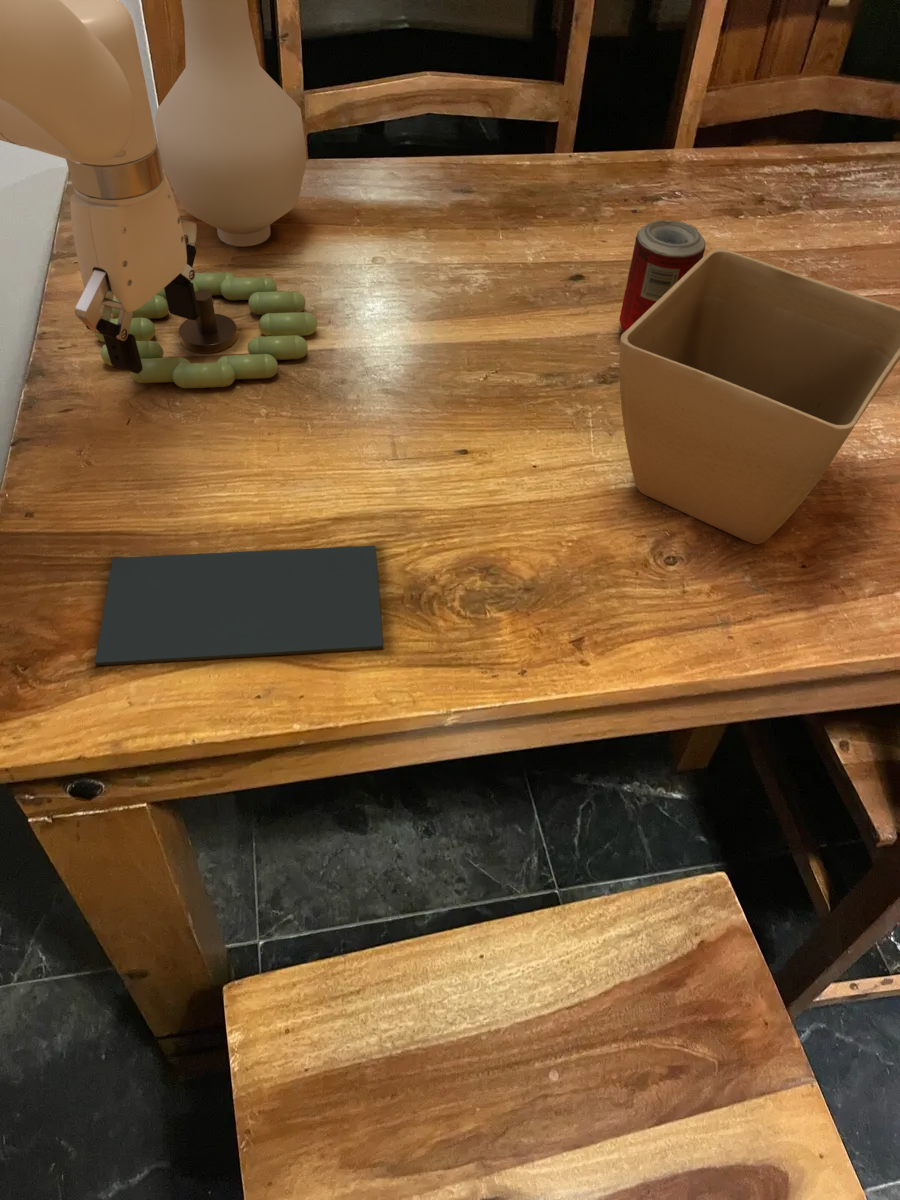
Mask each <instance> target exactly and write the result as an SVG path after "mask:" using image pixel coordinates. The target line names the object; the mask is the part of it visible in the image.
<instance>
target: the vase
mask: <svg viewBox="0 0 900 1200" xmlns="http://www.w3.org/2000/svg"><path fill="white" fill-rule="evenodd" d="M180 1H181V8H182V15H183V22H184V50H185V51H184V53H185V67H184V69H183V71H182V72H181V74H180V75H179V77H178V78H177V79H176V81H175V83H174V84H173V86H172V87H171V88H170V90H169V91H168V92H167V94H166V95H165V97H164V99H163V100H162V101H161V103H160V104H159V106H158V107H157V110H156V114H155V118H154V121H155V132H156V138H157V143H158V148H159V153H160V158H161V163H162V168H163V170H164V172H165V174H166V177H167V179H168V182H169V184H170V186H171V188H172V190H173V191H174V193H175V195H176V198H177V200H178V202H179V204H180V205H181V207H182V208H183V209H184V211H185V212H186V213H187V214H189V215H191V216H193V217H194V218H195V219H198V220H200V221H201V222H203V223H206V224H208V225H210V226H211V227H214V228H216V231H217V232H216V233H217V237H218V238H219V240H220V241H221V242H222V243H225V244H226V245H230V246H233V247H242V248H243V247H253V246H257V245H260V244H263V243H264V242H266V241H267V240H268V239H269V238H270V236H271V225H272V224H274V222H276V221H278V220H279V219H280V218H281V217H283V216H285V215H286V214H288V213H289V212H290V211H292V210H293V208H294V207H295V206H296V205H297V203H298V202H299V199H300V195H301V190H302V185H303V180H304V177H305V176H304V175H305V171H306V167H307V145H306V137H305V131H304V130H305V129H304V124H303V118H302V117H303V116H302V109H301V108H300V106H299V105H298V104H297V103H296V102H295V100H294V99H293V98H292V97H291V96H290V95H289V94H288V93H287V92H286V91H285V90H284V89H283V88H282V87H281V86H280V85H279V84H278V83H277V82H276V81H275V80H274V79H273V78H272V77H271V76H270V75H269V73H267V72H266V70H265V69H264V68H262V66H260V60H259V56H258V52H257V46H256V43H255V39H254V35H253V29H252V26H251V25H252V24H251V20H250V14H249V4H248V0H180Z"/></svg>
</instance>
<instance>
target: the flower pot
mask: <svg viewBox="0 0 900 1200" xmlns="http://www.w3.org/2000/svg"><path fill="white" fill-rule="evenodd" d="M620 335H621V336H620V337H619V338H620V340H619V341H620V342H619V393H620V404H621V406H620V407H621V415H622V423H623V431H624V437H625V443H626V449H627V454H628V458H629V459H628V460H629V465H630V469H631V473H632V477H633V480H634V484H635V485H636V486H635V487H636V489H637V490H638V492H640V494H642V495H645V496H646V497H649V498H651V499H653V500H655V501H657V502H660V503H662V504H664V505H666V506H668V507H671V508H673V509H674V510H677V511H679V512H681V513H683V514H686V515H689V516H691V517H692V518H694V519H697V520H699V521H700V522H704V523H706V524H707V525H710V526H712V527H714V528H716V529H719V530H721V531H722V532H725V533H727V534H730V535H731V536H734V537H736V538H738V539H740V540H742V541H745V542H747V543H750V544H753V545H760V544H763V543H765V542H767V541H768V540H769V539H770V537H772V536H773V535H774V534H775V533H776V532H777V531H779V529H780V528H781V527H782V526H783V525H784V524H785V523H786V522H787V520H789V518H791V516H792V515H793V514H794V513H795V511H796V510H797V509H798V508H799V507H800V505H801V504H802V503H803V502H804V501H805V499H806V498H807V497H808V496H809V494H810V493H811V491H812V490H813V488H814V487H815V486H816V485H817V483H818V482H819V481H820V479H821V478H822V476H823V475H824V473H825V472H826V470H827V469H828V468H829V466H830V465H831V463H832V462H833V460H834V458H835V457H836V456H837V454H838V452H839V451H840V450H841V448H842V446H843V445H844V444H845V442H846V440H847V439H848V437H849V436H850V434H851V433H852V431H853V430H854V428H855V426H856V424H857V423H858V422H859V420H860V418H861V417H862V416H863V414H864V413H865V411H866V410H867V408H868V406H869V405H870V404H871V402H872V401H873V399H874V397H875V396H876V395H877V394H878V392H879V390H880V389H881V388H882V386H883V385H884V383H886V380H887V379H888V377H889V376H890V374H891V373H892V371H893V370H894V368H895V367H896V365H897V364H898V363H899V361H900V308H899V307H897V306H894V305H891V304H888V303H885V302H882V301H879V300H876V299H873V298H870V297H867V296H864V295H861V294H858V293H855V292H852V291H849V290H847V289H843V288H840V287H838V286H835V285H833V284H829V283H826V282H823V281H820V280H817V279H815V278H812V277H809V276H806V275H802V274H800V273H796V272H794V271H792V270H788V269H785V268H782V267H779V266H777V265H774V264H771V263H769V262H765V261H762V260H759V259H757V258H755V257H754V258H753V257H751V256H748V255H744V254H741V253H740V252H739V253H738V252H736V251H733V250H730V249H727V248H722V247H716V248H715V247H714V248H713V249H710V250H709V251H708V252H707V253H705V255H703V258H702V259H701V260H700V261H699V262H698V263H696V264H695V265H694V266H693V267H692V268H691V269H690V270H689V271H688V272H687V273H686V274H685V275H684V276H683V277H682V278H681V279H680V280H679V281H678V282H677V283H676V284H675V285H674V286H673V287H672V288H671V289H670V290H668V291H667V292H666V293H665V294H664V295H663V296H662V297H661V298H660V299H659V300H658V301H657V302H656V303H655V304H654V305H653V306H652V307H651V308H650V309H648V310H647V311H646V312H645V313H644V314H643V315H642V316H641V317H640V318H639V319H638V320H637V321H636V322H635V323H634V324H633V325H632V326H631V327H630V328H629V329H628V330H626V331H625V332H624V333H623V332H622V334H620Z"/></svg>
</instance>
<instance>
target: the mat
mask: <svg viewBox="0 0 900 1200" xmlns="http://www.w3.org/2000/svg"><path fill="white" fill-rule="evenodd" d="M111 559H112V560H111V566H110V572H109V578H108V582H107V589H106V594H105V602H104V606H103V613H102V619H101V623H100V629H99V635H98V641H97V646H96V652H95V659H94V665H95V666H96V667H97V666H113V665H128V664H129V665H130V664H133V665H134V664H146V663H147V664H149V663H164V662H181V661H183V662H184V661H198V660H199V661H200V660H214V659H216V660H217V659H231V658H249V657H267V656H281V655H282V656H283V655H284V656H285V655H299V654H300V655H301V654H316V653H317V654H318V653H333V652H335V653H336V652H351V651H368V650H383V649H384V638H383V637H384V636H383V626H382V613H381V612H382V611H381V599H380V586H379V585H380V584H379V573H378V562H377V561H378V560H377V547H376V545H356V546H355V545H354V546H338V547H337V546H336V547H315V548H314V547H313V548H292V549H274V550H273V549H272V550H253V551H230V552H209V553H189V554H187V553H186V554H169V555H168V554H167V555H165V554H164V555H147V556H144V555H143V556H128V557H127V556H126V557H112V558H111Z"/></svg>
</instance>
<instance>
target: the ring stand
mask: <svg viewBox="0 0 900 1200" xmlns="http://www.w3.org/2000/svg"><path fill="white" fill-rule="evenodd" d="M195 296H196V302H197V307H198V312H199V317H198V318H197V319H196V320H190V319H186V320H184V321H183V322H182V323H181V324H180V326H179V327H178V335H179V341H180V344H182V346H183V347H184V348H185V349H187V350H189V351H191V352H194V353H197V354H213V353H219V352H222V351H225V350H227V349H229V348H230V347H232V346H233V345H234V344H235V342H236V341H237V339H238V329H237V325H236V323H235V321H234V320H233V319H231V318H230V317H229V316H227V315H224V314H220V313H215V307H214V300H213V297H212V296H213V295H212V294H211V293H210V292H209V291H206V290H199V291H196V292H195Z"/></svg>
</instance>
